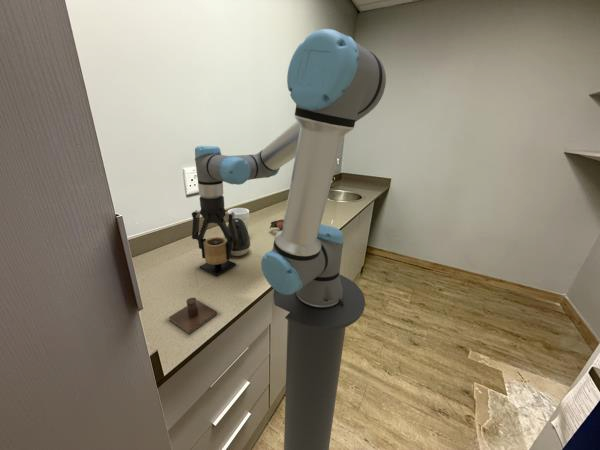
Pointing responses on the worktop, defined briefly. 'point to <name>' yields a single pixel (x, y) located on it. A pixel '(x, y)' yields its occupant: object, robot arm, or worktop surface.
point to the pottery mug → (277, 224)
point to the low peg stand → (192, 315)
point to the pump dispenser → (240, 238)
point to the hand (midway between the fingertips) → (217, 257)
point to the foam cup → (241, 214)
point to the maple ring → (215, 250)
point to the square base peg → (217, 268)
